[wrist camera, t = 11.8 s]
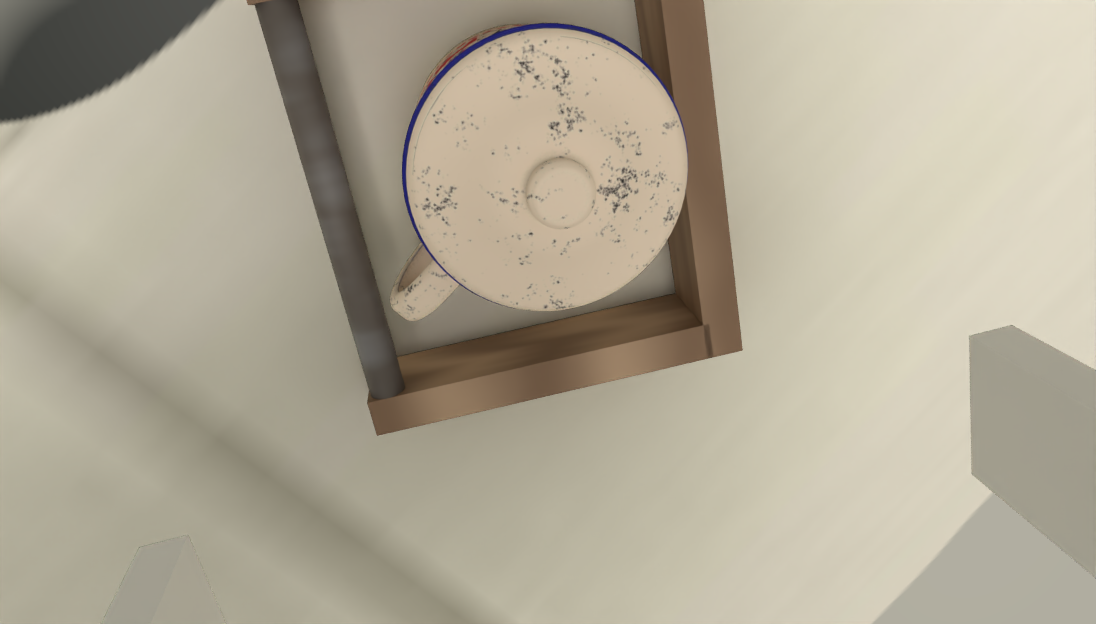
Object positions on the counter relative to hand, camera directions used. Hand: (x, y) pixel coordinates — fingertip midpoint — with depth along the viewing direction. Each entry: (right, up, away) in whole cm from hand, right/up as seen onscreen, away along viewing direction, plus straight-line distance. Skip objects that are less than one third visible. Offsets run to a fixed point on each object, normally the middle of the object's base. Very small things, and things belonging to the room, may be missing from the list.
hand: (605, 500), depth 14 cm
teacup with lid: (-3, +9, +21) cm, 23 cm away
